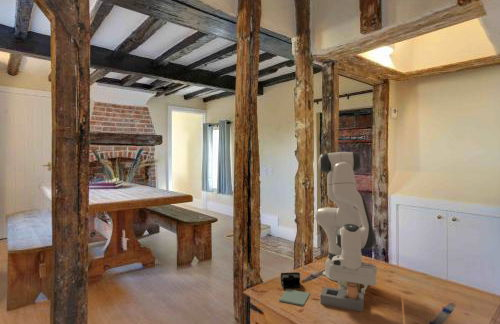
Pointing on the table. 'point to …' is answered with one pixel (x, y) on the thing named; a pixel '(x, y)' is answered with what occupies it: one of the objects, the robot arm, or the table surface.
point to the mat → (294, 297)
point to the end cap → (290, 280)
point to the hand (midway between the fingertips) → (352, 291)
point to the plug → (352, 290)
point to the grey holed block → (341, 299)
